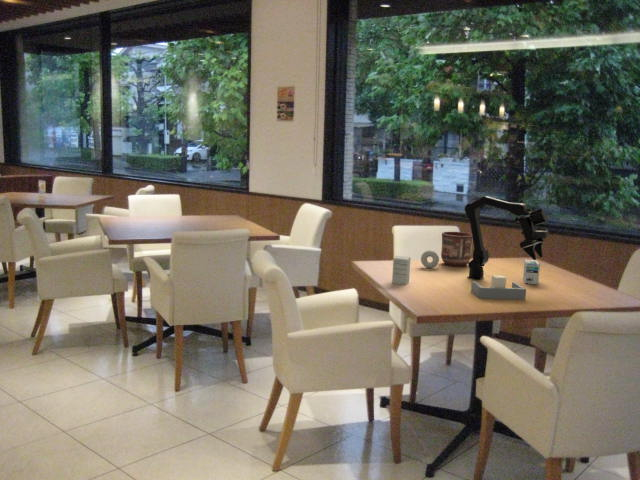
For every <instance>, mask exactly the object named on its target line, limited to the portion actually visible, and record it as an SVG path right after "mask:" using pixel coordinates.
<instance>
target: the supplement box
mask: <svg viewBox="0 0 640 480" xmlns="http://www.w3.org/2000/svg"><path fill="white" fill-rule="evenodd" d="M392 261H393V262H392V274H391V275H392V279H391V283H392V284H395V285H396V284H398V285H407V284H409V282H410V276H411V275H410V274H411V273H410V272H411V257H410V256H402V255H396V256H394V257H393V260H392Z"/></svg>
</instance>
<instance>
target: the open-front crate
mask: <svg viewBox="0 0 640 480" xmlns="http://www.w3.org/2000/svg"><path fill="white" fill-rule="evenodd" d="M470 285H471V288H470V291H471V293H472V294H474V295H475V296H476V297H477V298H478V299H481V300H515V301H516V300H517V301H519V300H521V301H525V300H526V296H527V288H526V287H524V286H522V285H520V284H519V283H517V282H516V281H512V283H511V287H505V288H493V287H491V286H490V287H489V286H482V285H481V284H480V283H479V282H477V280H471V284H470Z"/></svg>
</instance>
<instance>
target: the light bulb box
mask: <svg viewBox="0 0 640 480" xmlns="http://www.w3.org/2000/svg"><path fill="white" fill-rule="evenodd" d="M540 268H541V264H540V262H539V261H538V260H537V259H536V260H533V259H524V265H523V275H522V281H523V282H524V284H526V283H528V285H529V284H530V285H539V281H540V280H539V279H540Z"/></svg>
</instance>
